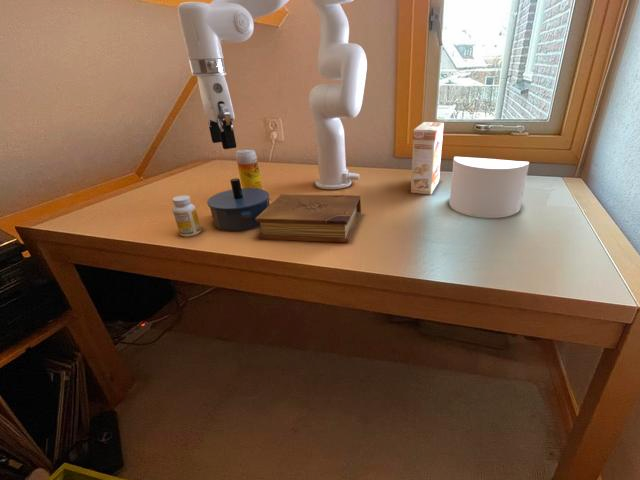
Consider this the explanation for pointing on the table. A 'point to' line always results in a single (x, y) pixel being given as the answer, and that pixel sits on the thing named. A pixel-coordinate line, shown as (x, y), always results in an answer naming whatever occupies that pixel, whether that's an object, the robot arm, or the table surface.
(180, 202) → the supplement bottle
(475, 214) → the container
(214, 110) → the robot arm
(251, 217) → the pan
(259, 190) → the pan lid
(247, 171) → the beer can
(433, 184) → the coffeecake box
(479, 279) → the table surface
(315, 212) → the diary
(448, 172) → the table surface
